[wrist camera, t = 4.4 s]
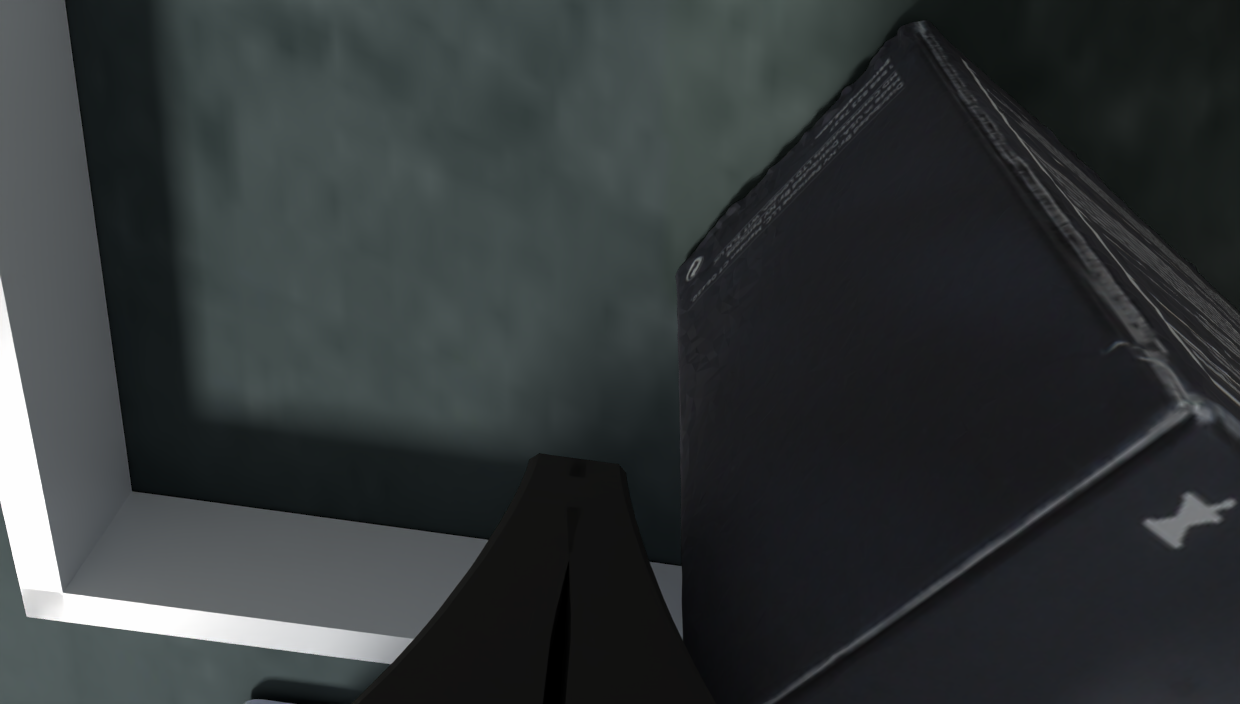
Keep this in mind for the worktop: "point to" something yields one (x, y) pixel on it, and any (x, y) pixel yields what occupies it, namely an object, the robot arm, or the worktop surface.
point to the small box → (953, 420)
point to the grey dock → (96, 451)
